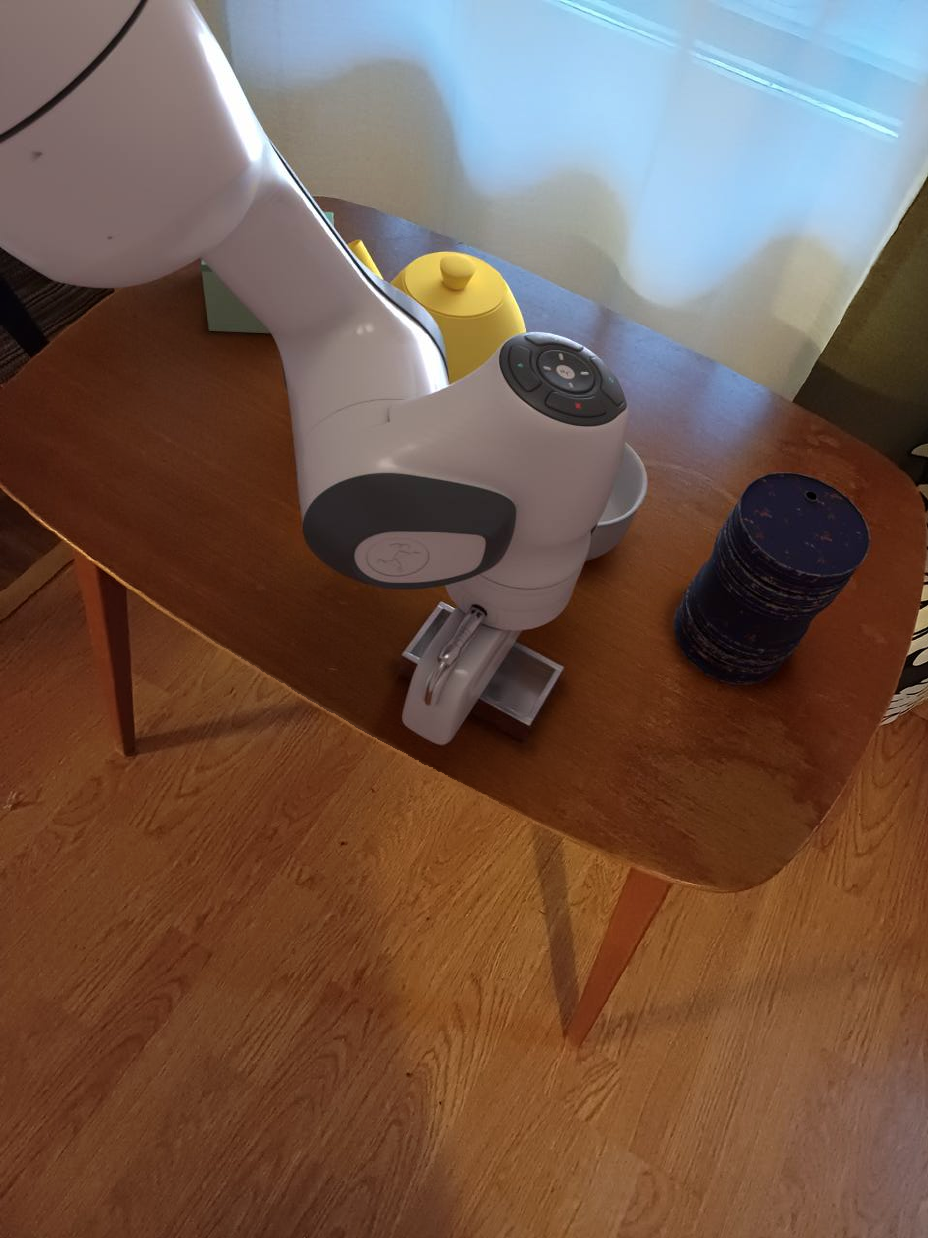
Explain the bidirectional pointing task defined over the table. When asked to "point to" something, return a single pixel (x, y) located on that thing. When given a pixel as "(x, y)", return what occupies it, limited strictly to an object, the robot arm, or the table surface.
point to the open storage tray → (497, 681)
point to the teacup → (620, 504)
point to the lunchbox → (227, 308)
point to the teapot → (459, 304)
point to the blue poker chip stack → (769, 576)
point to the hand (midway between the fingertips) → (481, 669)
